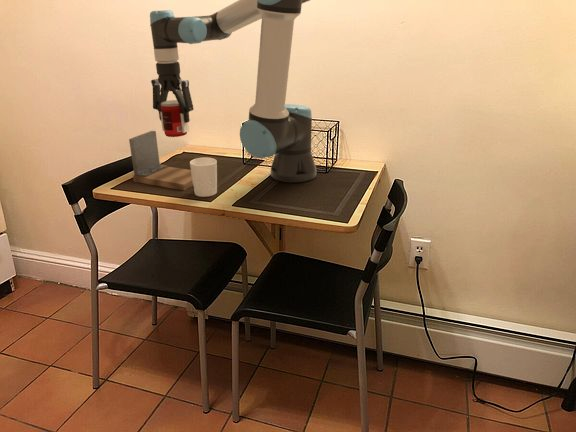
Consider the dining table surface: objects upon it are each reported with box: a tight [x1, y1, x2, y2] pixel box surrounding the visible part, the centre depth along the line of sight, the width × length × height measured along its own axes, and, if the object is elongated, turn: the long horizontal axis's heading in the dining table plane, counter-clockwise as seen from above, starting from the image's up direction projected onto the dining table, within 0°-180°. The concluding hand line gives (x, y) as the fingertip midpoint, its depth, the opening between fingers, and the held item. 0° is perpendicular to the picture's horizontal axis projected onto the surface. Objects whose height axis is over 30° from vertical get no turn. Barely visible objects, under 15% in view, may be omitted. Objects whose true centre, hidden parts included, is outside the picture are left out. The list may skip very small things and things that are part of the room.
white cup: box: [189, 157, 218, 198], centre depth 149 cm, size 8×8×10 cm
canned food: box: [161, 99, 188, 138], centre depth 169 cm, size 8×8×11 cm
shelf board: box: [132, 165, 194, 191], centre depth 161 cm, size 20×12×2 cm, turn 65°
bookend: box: [128, 130, 168, 177], centre depth 161 cm, size 5×11×12 cm, turn 155°
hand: (175, 130), depth 170 cm, fingers closed on canned food, 8 cm apart
